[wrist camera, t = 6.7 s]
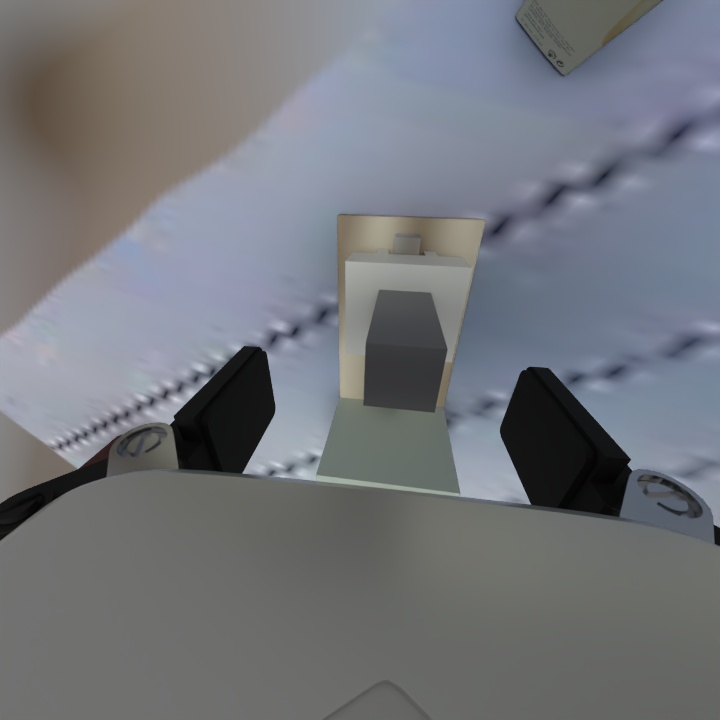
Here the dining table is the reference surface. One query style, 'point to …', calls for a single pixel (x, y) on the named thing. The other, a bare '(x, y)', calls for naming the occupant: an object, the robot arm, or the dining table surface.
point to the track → (383, 239)
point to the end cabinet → (389, 449)
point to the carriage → (404, 323)
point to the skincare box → (578, 26)
